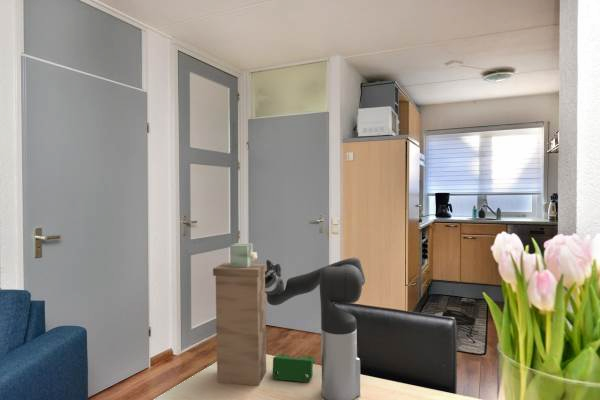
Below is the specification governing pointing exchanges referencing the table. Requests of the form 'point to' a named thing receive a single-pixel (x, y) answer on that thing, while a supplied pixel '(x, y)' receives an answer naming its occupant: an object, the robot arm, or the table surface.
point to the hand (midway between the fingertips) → (254, 262)
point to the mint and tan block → (242, 255)
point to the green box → (293, 368)
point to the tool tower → (240, 323)
